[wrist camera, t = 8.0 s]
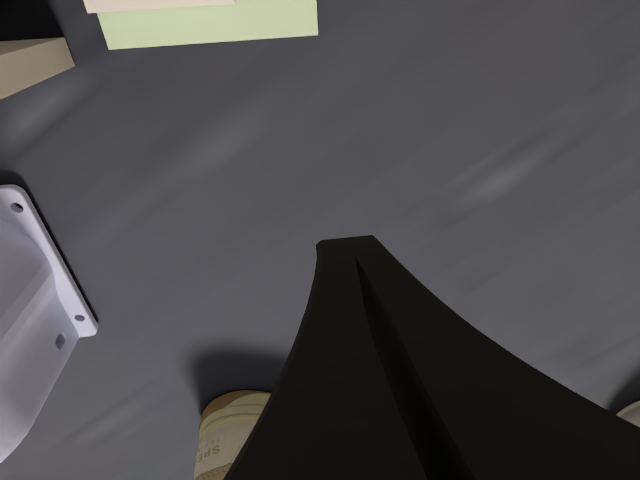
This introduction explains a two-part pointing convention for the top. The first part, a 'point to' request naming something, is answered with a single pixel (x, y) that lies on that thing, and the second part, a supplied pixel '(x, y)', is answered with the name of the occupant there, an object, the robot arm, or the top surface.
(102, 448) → the top surface
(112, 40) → the pad
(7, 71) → the tunnel
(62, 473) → the top surface
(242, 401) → the boat shoe
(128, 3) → the cream and orange bar
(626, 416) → the lidded jar
